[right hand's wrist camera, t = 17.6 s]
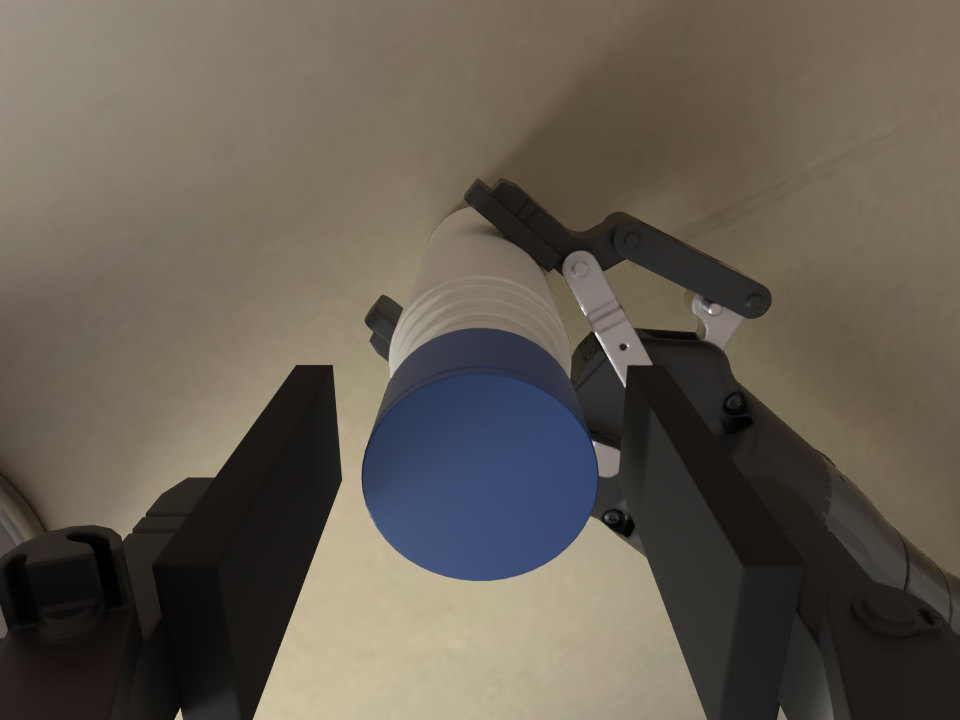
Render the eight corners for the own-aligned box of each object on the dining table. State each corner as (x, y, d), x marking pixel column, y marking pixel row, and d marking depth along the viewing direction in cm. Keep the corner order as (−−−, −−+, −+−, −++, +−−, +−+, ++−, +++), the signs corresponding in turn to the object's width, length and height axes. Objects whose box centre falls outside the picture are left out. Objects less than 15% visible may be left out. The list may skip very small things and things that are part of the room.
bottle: (493, 331, 31) (511, 610, 14) (406, 274, 30) (305, 495, 13) (555, 246, 30) (661, 436, 12) (465, 183, 29) (443, 293, 11)
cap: (340, 415, 14) (311, 477, 12) (487, 284, 13) (489, 323, 11) (474, 539, 16) (472, 618, 13) (619, 426, 15) (647, 490, 12)
